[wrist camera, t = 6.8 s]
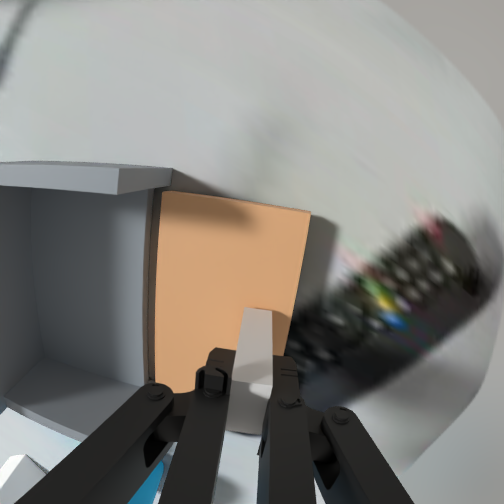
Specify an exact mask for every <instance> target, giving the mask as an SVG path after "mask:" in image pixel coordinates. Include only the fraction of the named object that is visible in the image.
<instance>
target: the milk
mask: <svg viewBox="0 0 504 504" xmlns="http://www.w3.org/2000/svg"><path fill="white" fill-rule="evenodd" d="M45 475H47V474H45V473H44V472H43V471H42V470H41V469H40V468H39V467H38V466H37V465H36V464H35V463H34V462H33V461H32V460H31V459H30V458H29V457H28V456H27V455H26V454H23V455H15V456H10V457H9V459H8V460H7V461H6V463H5V464H4V465H3V466H2V468H1V469H0V504H14V503H15V502H16V501H17V500H18V499H20V498H21V497H22V496H23V495H24V494H25V493H26V492H28V491H29V490H30V489H31V488H32V487H33V486H34V485H35V484H36V483H38V482H39V481H40V480H41V479H42V478H43V477H44V476H45Z"/></svg>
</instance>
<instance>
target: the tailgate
mask: <svg viewBox="0 0 504 504" xmlns="http://www.w3.org/2000/svg"><path fill="white" fill-rule="evenodd" d="M310 216H311V212H310V211H305V210H300V209H294V208H288V207H282V206H276V205H269V204H263V203H257V202H250V201H243V200H237V199H230V198H223V197H216V196H209V195H201V194H194V193H186V192H178V191H164V192H162V202H161V213H160V225H159V238H158V254H157V273H156V299H155V382H156V383H161V384H165V385H167V386H168V387H170V388H171V389H172V391H173V393H186V392H190V391H192V390H194V389H195V377H196V371H197V370H198V369H199V368H201V367H203V366H205V365H206V361H207V358H208V355H209V352H210V351H212V350H213V349H214V348H215V347H218V348H224V349H230V350H237V345H238V339H239V334H240V328H241V323H242V317H243V312H244V307H248V308H255V309H262V310H269V311H272V355H279V356H283V355H284V350H285V346H286V341H287V336H288V332H289V327H290V322H291V317H292V312H293V308H294V303H295V298H296V293H297V288H298V282H299V277H300V272H301V267H302V261H303V256H304V250H305V245H306V239H307V233H308V228H309V222H310Z"/></svg>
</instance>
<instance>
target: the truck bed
mask: <svg viewBox="0 0 504 504" xmlns="http://www.w3.org/2000/svg"><path fill="white" fill-rule="evenodd" d="M172 169H173V168H163V167H151V166H138V165H124V164H108V163H88V162H61V161H19V162H0V414H1V413H2V412H3V411H4V410H5V409H6V408H7V407H8V408H10V409H12V410H14V411H16V412H18V413H19V414H21V415H23V416H25V417H27V418H29V419H31V420H33V421H35V422H37V423H39V424H41V425H43V426H45V427H48V428H50V429H52V430H54V431H56V432H59V433H61V434H63V435H66V436H68V437H70V438H73V439H75V440H78V441H80V442H83V441H84V440H85V439H86V438H87V437H88V436H89V435H90V434H91V433H92V432H94V431H95V430H96V429H97V428H98V427H99V426H100V425H101V424H102V423H103V422H104V421H105V420H106V419H108V418H109V417H110V416H111V415H112V414H113V413H114V412H115V411H116V410H117V409H118V408H119V407H120V406H121V405H122V404H124V403H125V402H126V401H127V400H128V399H129V398H130V397H131V396H132V395H133V394H134V393H135V392H136V391H137V390H138V389H139V388H140V387H142V386H143V385H145V384H148V383H156V382H155V381H151V380H149V376H148V329H147V320H148V272H149V251H150V234H151V220H152V208H153V196H154V188H158V187H164V186H170V185H171V177H172Z"/></svg>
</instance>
